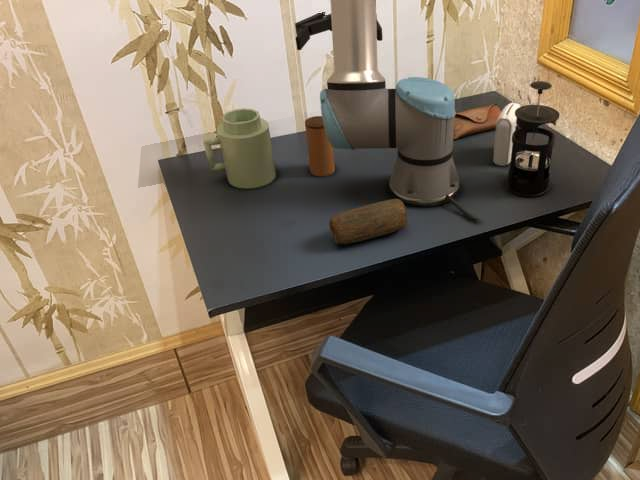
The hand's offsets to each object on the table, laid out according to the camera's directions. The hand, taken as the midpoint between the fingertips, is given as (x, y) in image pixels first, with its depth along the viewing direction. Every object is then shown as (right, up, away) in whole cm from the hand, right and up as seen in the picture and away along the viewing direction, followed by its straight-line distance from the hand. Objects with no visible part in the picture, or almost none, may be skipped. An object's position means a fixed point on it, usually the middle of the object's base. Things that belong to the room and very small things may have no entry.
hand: (327, 46), depth 133 cm
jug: (-20, -27, +8) cm, 34 cm away
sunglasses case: (+35, -10, +27) cm, 45 cm away
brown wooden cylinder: (+9, -42, -10) cm, 44 cm away
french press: (+44, -30, +4) cm, 53 cm away
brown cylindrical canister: (-2, -25, +10) cm, 27 cm away
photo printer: (+41, -21, +14) cm, 48 cm away
